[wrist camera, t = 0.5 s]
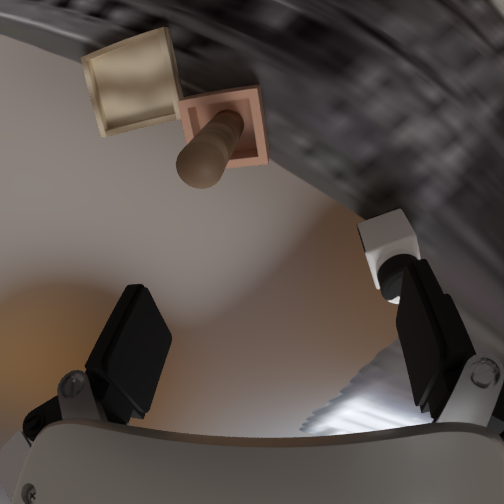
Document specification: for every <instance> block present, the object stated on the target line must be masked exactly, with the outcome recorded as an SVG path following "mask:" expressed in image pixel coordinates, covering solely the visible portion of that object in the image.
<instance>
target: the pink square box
mask: <svg viewBox="0 0 504 504" xmlns="http://www.w3.org/2000/svg"><path fill="white" fill-rule="evenodd" d="M177 103H178V107H179V112H180V116H181V121H182V125H183V129H184V134H185V138H186V142H187V144H188V143H189V142H190V141H191V140H192V139H193V138H194V137H195V136H196V135H197V133H198V132H199V131H200V130H201V129H202V128H203V127H204V126H205V125H206V124H207V123H208V122H209V121H210V120H211V119H212V118H213V117H214V116H215V115H216V114H217V113H218V112H220V111H222V110H233V111H235V112H237V113H238V114H240V115H241V117H242V118H243V121H244V130H243V132H242V134H241V137H240V139H239V141H238V143H237V145H236V147H235V149H234V151H233V153H232V155H231V157H230V159H229V161H228V164H227V166H226V168H235V167H243V166H253V165H264V164H268V161H269V156H270V150H269V142H268V135H267V128H266V121H265V114H264V108H263V101H262V94H261V88H260V84H258V85H250V86H243V87H236V88H229V89H223V90H217V91H211V92H205V93H200V94H195V95H190V96H187V97H185V98H183V99H181V100H179V101H178V102H177ZM226 168H225V169H226Z"/></svg>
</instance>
